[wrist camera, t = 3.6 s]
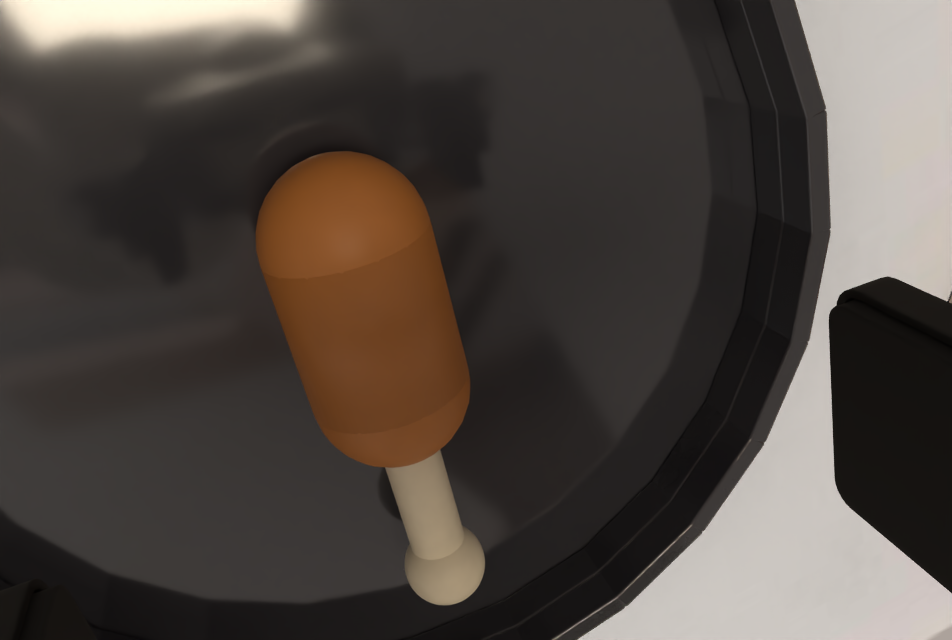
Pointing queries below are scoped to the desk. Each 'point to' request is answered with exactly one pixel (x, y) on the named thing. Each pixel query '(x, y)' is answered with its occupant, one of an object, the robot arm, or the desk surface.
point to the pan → (468, 280)
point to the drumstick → (376, 343)
